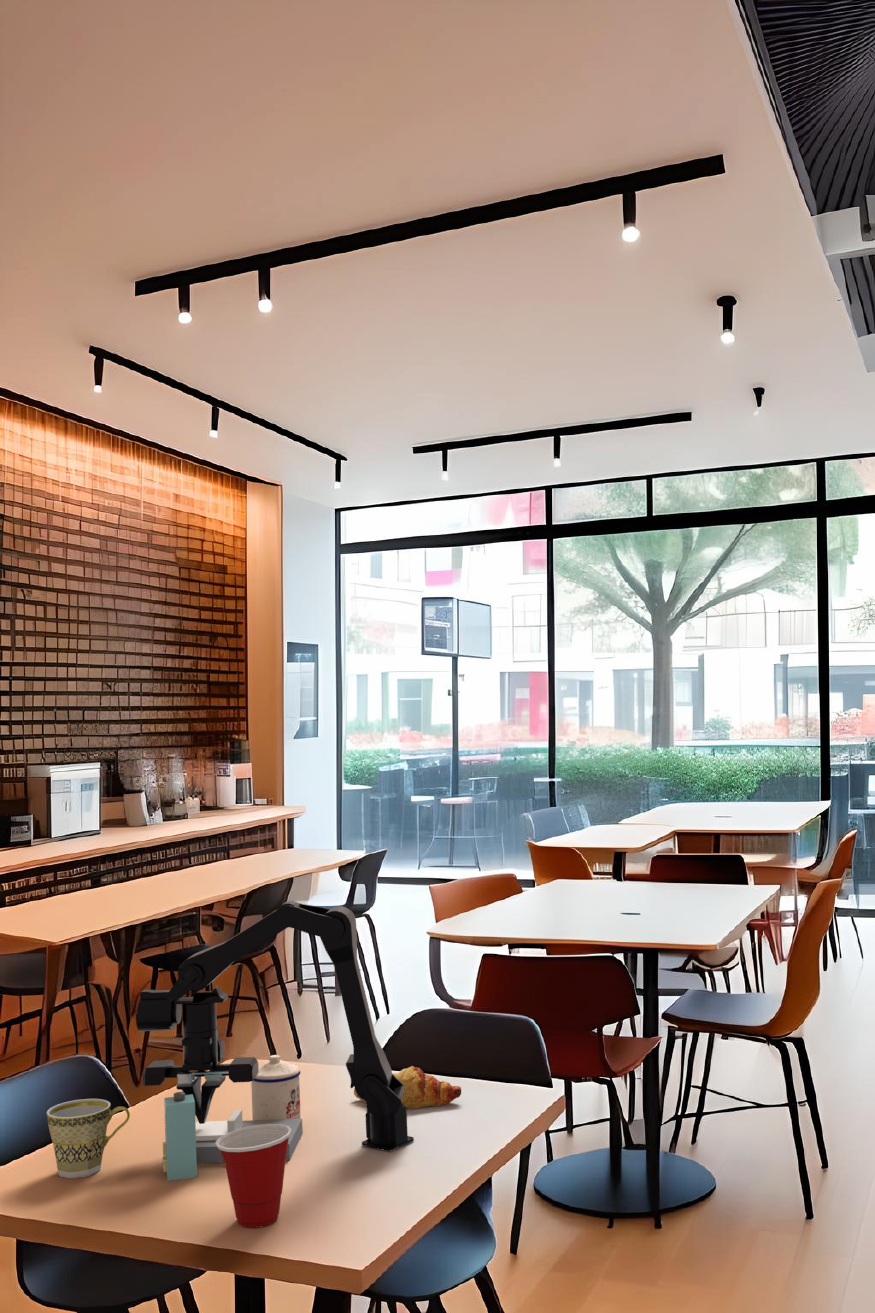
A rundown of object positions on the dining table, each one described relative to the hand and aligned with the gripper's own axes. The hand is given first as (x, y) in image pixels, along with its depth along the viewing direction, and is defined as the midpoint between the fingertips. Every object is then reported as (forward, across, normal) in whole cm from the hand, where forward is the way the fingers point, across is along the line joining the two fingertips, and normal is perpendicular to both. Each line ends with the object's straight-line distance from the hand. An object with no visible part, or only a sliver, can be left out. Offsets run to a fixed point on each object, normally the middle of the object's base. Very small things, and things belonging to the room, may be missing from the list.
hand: (202, 1123), depth 193 cm
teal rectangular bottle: (+4, +1, +11) cm, 12 cm away
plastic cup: (+4, -15, +30) cm, 34 cm away
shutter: (+2, -2, 0) cm, 3 cm away
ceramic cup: (+4, +17, +8) cm, 19 cm away
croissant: (+5, -33, -23) cm, 40 cm away
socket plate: (+4, -6, 0) cm, 7 cm away
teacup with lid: (+4, -10, -15) cm, 18 cm away
